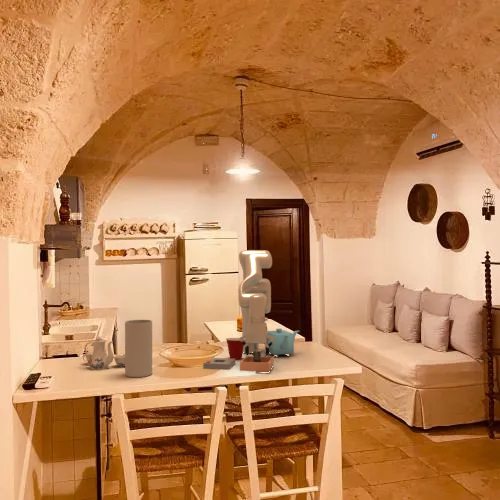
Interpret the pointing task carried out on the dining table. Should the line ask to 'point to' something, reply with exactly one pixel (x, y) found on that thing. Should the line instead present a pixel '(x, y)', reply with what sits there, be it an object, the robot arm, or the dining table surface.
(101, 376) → the dining table surface
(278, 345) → the teakettle
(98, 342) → the chinaware
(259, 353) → the battery cell
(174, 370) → the dining table surface
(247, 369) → the bin
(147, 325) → the cylinder vase
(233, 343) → the plastic cup
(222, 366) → the block
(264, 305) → the robot arm
